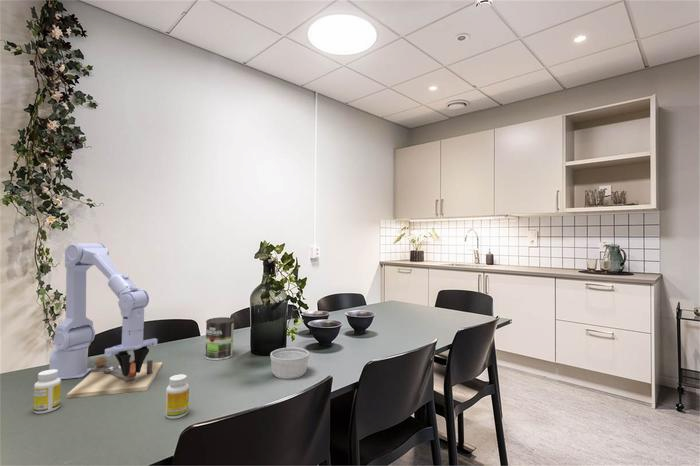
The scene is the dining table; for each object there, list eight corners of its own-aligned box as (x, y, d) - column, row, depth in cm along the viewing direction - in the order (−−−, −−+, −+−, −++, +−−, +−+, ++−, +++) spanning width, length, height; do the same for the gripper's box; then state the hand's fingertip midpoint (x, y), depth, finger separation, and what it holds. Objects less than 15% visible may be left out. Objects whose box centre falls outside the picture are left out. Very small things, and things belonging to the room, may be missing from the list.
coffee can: (223, 361, 131) (224, 323, 131) (199, 359, 133) (200, 321, 134) (238, 353, 141) (239, 318, 141) (215, 351, 143) (216, 316, 144)
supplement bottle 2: (162, 414, 91) (163, 376, 91) (183, 407, 94) (184, 371, 95) (169, 421, 87) (171, 382, 87) (191, 414, 91) (192, 377, 91)
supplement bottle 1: (57, 402, 96) (59, 366, 96) (62, 408, 93) (63, 371, 93) (31, 409, 92) (32, 372, 92) (35, 416, 88) (36, 377, 89)
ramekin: (314, 368, 125) (314, 349, 125) (299, 383, 112) (299, 361, 112) (280, 364, 128) (281, 345, 129) (262, 378, 116) (263, 357, 116)
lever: (101, 371, 115) (102, 354, 115) (115, 367, 118) (115, 351, 119) (126, 383, 106) (126, 364, 106) (139, 378, 109) (140, 360, 110)
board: (66, 398, 98) (67, 379, 99) (97, 370, 119) (97, 354, 120) (146, 390, 105) (147, 372, 105) (162, 365, 125) (162, 350, 126)
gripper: (113, 336, 101) (111, 384, 100) (163, 327, 113) (161, 369, 113) (102, 333, 105) (100, 378, 104) (151, 324, 117) (149, 365, 116)
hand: (131, 373), depth 109 cm, fingers open, 3 cm apart
